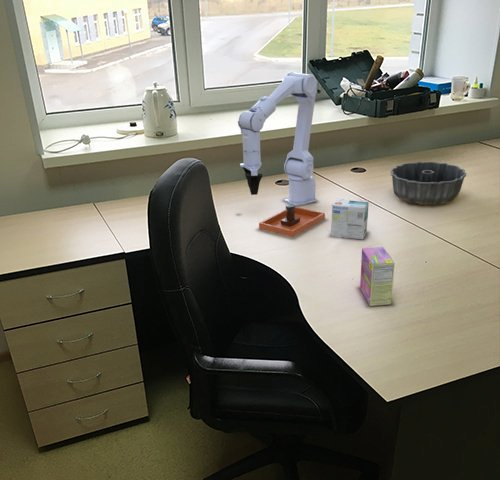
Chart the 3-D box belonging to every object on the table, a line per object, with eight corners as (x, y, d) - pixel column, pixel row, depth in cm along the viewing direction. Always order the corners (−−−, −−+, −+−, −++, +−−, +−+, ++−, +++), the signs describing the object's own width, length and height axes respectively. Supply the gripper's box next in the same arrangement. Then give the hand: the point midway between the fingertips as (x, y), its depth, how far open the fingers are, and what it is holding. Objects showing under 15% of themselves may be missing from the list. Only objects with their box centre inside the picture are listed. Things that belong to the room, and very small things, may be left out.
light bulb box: (367, 232, 191) (369, 200, 185) (363, 240, 185) (366, 207, 180) (334, 229, 194) (336, 197, 188) (330, 236, 188) (331, 204, 183)
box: (359, 288, 158) (361, 247, 151) (379, 286, 158) (383, 246, 152) (368, 306, 149) (372, 264, 143) (391, 305, 149) (395, 262, 143)
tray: (292, 212, 209) (292, 205, 207) (324, 220, 201) (325, 213, 200) (259, 230, 195) (258, 222, 194) (292, 238, 188) (292, 231, 187)
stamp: (290, 219, 201) (290, 202, 198) (299, 222, 199) (300, 204, 196) (280, 224, 198) (280, 206, 194) (290, 227, 195) (290, 209, 192)
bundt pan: (381, 206, 211) (384, 178, 206) (395, 184, 232) (397, 158, 226) (458, 213, 202) (462, 185, 197) (465, 190, 223) (469, 163, 217)
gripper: (237, 145, 197) (239, 184, 205) (241, 156, 185) (243, 198, 192) (258, 144, 198) (259, 183, 205) (263, 155, 186) (264, 197, 193)
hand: (253, 190), depth 199 cm, fingers open, 7 cm apart
